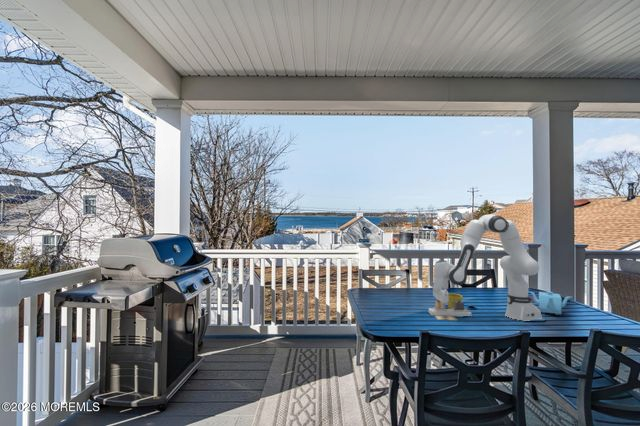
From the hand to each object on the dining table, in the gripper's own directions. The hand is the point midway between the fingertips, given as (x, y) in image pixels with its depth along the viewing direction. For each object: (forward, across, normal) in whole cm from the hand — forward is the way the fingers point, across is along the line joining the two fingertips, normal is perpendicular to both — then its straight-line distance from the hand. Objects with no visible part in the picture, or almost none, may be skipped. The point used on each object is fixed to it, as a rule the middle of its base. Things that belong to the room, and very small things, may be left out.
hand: (440, 306), depth 217 cm
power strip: (+5, 0, -6) cm, 8 cm away
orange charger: (+2, 0, 0) cm, 2 cm away
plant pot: (+5, +13, -14) cm, 19 cm away
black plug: (+2, 0, -12) cm, 12 cm away
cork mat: (+5, -10, 0) cm, 11 cm away
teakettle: (+5, +12, -77) cm, 78 cm away
